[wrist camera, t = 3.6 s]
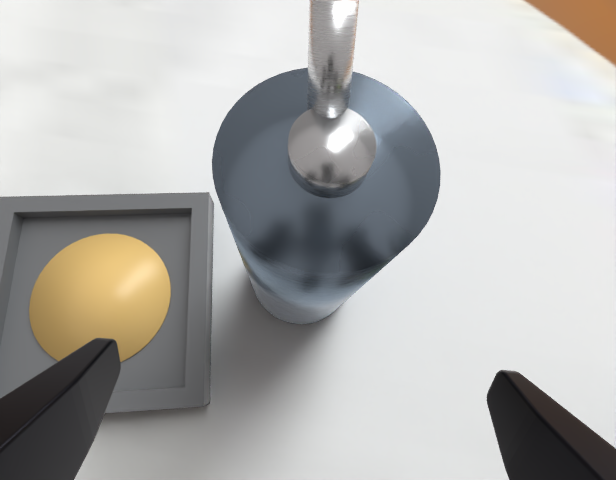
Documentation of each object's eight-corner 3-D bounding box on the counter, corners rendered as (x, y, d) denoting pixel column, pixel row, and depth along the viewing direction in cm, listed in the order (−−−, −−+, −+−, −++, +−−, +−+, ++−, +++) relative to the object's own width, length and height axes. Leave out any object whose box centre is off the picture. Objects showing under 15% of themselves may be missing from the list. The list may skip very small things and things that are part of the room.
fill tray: (209, 402, 19) (203, 406, 18) (-21, 418, 18) (-48, 423, 17) (213, 203, 22) (208, 192, 21) (18, 208, 22) (-2, 196, 20)
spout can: (353, 321, 21) (532, 230, 6) (252, 326, 21) (177, 241, 6) (345, 226, 23) (469, -27, 8) (251, 229, 22) (191, -35, 7)
